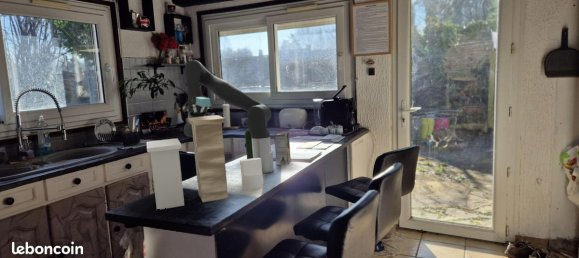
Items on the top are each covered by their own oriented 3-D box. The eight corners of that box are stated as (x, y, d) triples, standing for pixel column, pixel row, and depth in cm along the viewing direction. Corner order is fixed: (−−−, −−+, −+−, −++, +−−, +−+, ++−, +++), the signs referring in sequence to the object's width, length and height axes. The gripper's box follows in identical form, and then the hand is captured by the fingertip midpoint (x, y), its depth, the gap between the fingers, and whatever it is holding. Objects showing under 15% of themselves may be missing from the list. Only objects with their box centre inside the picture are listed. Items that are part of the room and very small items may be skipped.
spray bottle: (268, 158, 228) (265, 115, 224) (253, 161, 222) (249, 117, 218) (258, 156, 236) (255, 115, 233) (243, 159, 230) (240, 117, 227)
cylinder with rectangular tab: (245, 190, 165) (243, 162, 163) (239, 185, 173) (237, 159, 172) (266, 187, 168) (263, 159, 167) (259, 182, 177) (257, 156, 175)
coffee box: (279, 161, 219) (277, 132, 216) (291, 161, 217) (289, 132, 215) (275, 165, 210) (273, 135, 208) (287, 164, 208) (285, 134, 206)
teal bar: (195, 104, 172) (194, 97, 171) (201, 103, 173) (201, 96, 172) (202, 106, 149) (202, 99, 149) (210, 106, 150) (210, 98, 150)
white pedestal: (153, 199, 161) (146, 141, 158) (183, 194, 165) (177, 138, 162) (154, 212, 144) (146, 148, 141) (187, 207, 148) (181, 144, 145)
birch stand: (195, 192, 166) (187, 117, 162) (223, 188, 170) (216, 115, 166) (201, 204, 150) (193, 121, 146) (232, 199, 154) (225, 118, 150)
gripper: (180, 109, 181) (181, 91, 166) (210, 106, 186) (214, 88, 171) (182, 124, 178) (183, 106, 163) (213, 121, 183) (217, 103, 168)
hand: (199, 97), depth 167 cm, fingers closed on teal bar, 3 cm apart
